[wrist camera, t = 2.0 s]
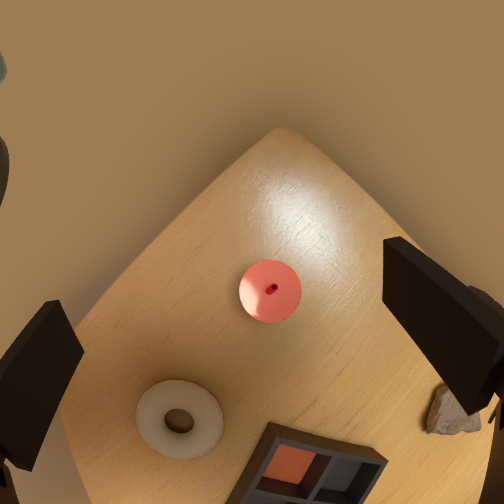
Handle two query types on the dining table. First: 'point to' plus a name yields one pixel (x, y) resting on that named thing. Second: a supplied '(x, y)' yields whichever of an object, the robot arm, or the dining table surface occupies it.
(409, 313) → the robot arm
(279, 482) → the grid
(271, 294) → the cup
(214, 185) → the dining table surface
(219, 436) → the donut
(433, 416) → the stone
